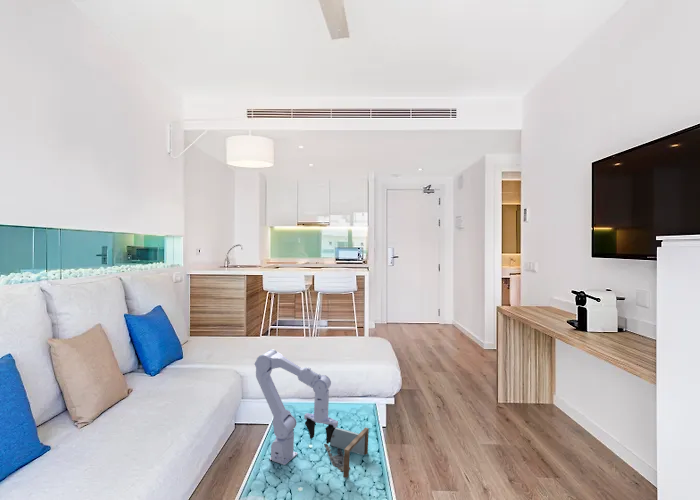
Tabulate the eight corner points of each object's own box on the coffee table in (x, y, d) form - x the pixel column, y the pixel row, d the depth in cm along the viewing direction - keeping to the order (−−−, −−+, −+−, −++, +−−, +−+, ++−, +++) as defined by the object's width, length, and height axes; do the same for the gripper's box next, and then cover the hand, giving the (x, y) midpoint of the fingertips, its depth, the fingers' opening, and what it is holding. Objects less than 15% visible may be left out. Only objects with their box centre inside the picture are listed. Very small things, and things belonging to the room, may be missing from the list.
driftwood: (351, 472, 159) (351, 467, 159) (334, 474, 158) (334, 469, 158) (339, 445, 179) (339, 441, 179) (324, 447, 178) (324, 442, 177)
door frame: (347, 477, 155) (348, 450, 154) (343, 476, 155) (344, 449, 155) (367, 453, 173) (368, 428, 172) (364, 452, 173) (365, 427, 173)
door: (328, 446, 176) (329, 428, 176) (331, 444, 178) (331, 426, 178) (362, 456, 169) (362, 437, 169) (364, 453, 171) (365, 435, 171)
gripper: (341, 407, 164) (340, 440, 164) (311, 399, 170) (310, 431, 170) (333, 414, 157) (332, 448, 158) (302, 406, 164) (300, 438, 164)
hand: (320, 440), depth 164 cm, fingers open, 7 cm apart
